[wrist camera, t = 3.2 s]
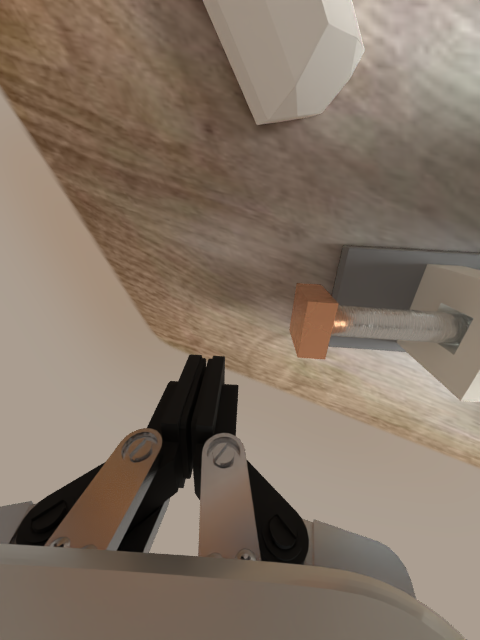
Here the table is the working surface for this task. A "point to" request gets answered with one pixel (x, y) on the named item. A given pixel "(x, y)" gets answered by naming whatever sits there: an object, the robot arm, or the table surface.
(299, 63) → the crystal
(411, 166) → the table surface
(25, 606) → the robot arm
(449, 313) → the shaft
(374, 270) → the bearing base
